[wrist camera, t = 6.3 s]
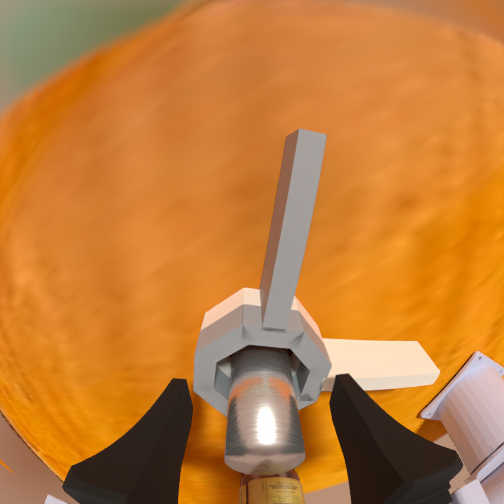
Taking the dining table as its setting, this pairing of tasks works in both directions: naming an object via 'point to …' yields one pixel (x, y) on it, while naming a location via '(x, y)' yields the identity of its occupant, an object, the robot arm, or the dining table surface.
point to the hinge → (296, 308)
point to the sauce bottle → (271, 489)
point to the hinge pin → (262, 413)
